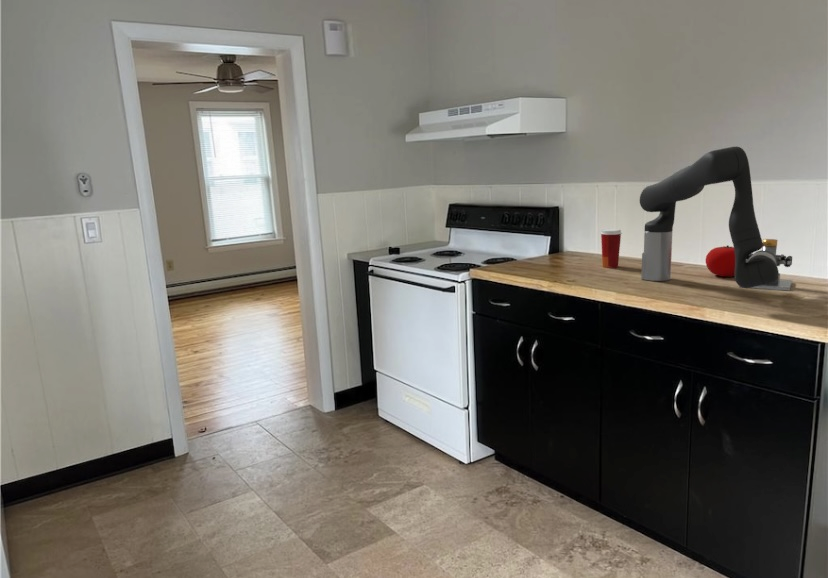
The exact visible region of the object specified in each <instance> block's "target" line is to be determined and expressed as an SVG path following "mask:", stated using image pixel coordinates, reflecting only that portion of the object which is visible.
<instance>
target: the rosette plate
mask: <svg viewBox="0 0 828 578" xmlns="http://www.w3.org/2000/svg"><path fill="white" fill-rule="evenodd" d="M792 285H793V279H783V278H781V273H780V272H779V275H778V279H777V280H776V281H775V282H773V283H769V284H765V285H760V286H756V287H751V288H750V289H759V290H773V291H776V290H777V291H790V289H791V288H792ZM738 287H739V288H741V287H740V286H739V285H738Z"/></svg>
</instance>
